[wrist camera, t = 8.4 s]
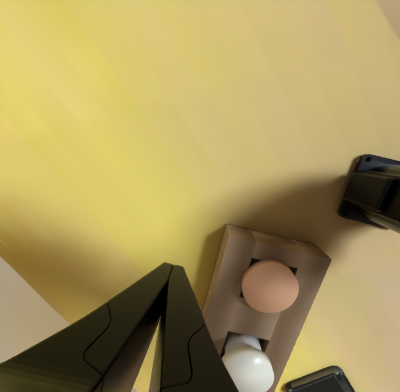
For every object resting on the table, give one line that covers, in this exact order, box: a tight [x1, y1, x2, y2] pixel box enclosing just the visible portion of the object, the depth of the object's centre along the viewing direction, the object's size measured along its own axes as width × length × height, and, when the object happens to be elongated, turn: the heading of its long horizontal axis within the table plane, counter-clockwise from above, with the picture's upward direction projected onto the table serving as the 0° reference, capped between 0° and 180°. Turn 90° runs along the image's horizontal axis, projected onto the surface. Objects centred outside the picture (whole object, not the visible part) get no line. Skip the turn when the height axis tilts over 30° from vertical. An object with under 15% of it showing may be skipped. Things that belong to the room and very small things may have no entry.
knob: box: [241, 258, 299, 313], centre depth 21 cm, size 5×5×4 cm
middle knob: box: [222, 331, 274, 392], centre depth 21 cm, size 5×5×4 cm
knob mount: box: [202, 224, 332, 392], centre depth 23 cm, size 10×26×3 cm, turn 167°
